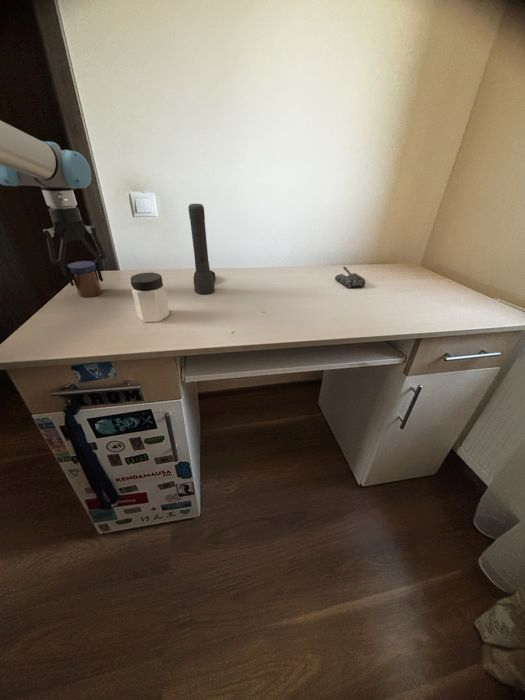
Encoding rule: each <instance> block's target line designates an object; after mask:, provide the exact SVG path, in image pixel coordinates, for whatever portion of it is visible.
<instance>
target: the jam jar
mask: <svg viewBox="0 0 525 700" xmlns="http://www.w3.org/2000/svg"><path fill="white" fill-rule="evenodd" d="M70 275H71V277H72V280H73V283H74V286H75V289H76V292H77V295H78V296H79V297H80V298H93V297H97V296H100V295H101V294H102V293H103V289H102V286H101V283H100V282H101V281H100V279H99V277H98V273H97V270H95V271H92V272H88V273H81V274H75V273H70Z"/></svg>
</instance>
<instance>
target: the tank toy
mask: <svg viewBox="0 0 525 700" xmlns="http://www.w3.org/2000/svg"><path fill="white" fill-rule="evenodd" d="M342 268H343V271H345V272H346V273H347V274H348V275H346V274H343V273H339V274H336V275H335V277H334V280H335V281H337V282H338V283H339V284H340V285H342V286H343V287H345V288H346V289H350V288H352V287H360V288H363V287H366V279H365V278H364V277H362V276H361V275H360V274H357V273H355V272H353V273H352V272H351V271H350V270H349V269H348V268H347V267H346V266H343V267H342Z"/></svg>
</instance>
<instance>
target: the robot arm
mask: <svg viewBox="0 0 525 700" xmlns="http://www.w3.org/2000/svg"><path fill="white" fill-rule="evenodd" d="M91 182H92V170H91V167H90V164H89V163H88V161H87V159H86V158H85V157H84V155H83V154H81V153H80V152H78V151H75V150H70V149H61V147H60V145H59V144H58V143H56V142H54V141H44V140H43V141H42V140H40V139H39V138H36V137H34V136H32V135H30V134H28V133H26V132H25V131H22V130H21V129H18V128H16V127H14V126H12V125H10V124H8V123H6V122H4V121H2V120H0V185H1V186H6V187H7V186H9V187H19V186H28V187H29V186H32V187H40V190H41V192H42V195H43V198H44V201H45V204H46V205H47V207H49V208H48V212H49V215H50V218H51V221H52V227H51V228H44V229H42V231H43V234H44V235H45V237H46V240H47V246H48V247H47V248H48V253H49V257H50V262H51V264H52V265H53V266H56V265H57V266H59V268H60V271H61V274H62V275H63V276H64V277H68V281H69V283H70V285H71V287H74V286H75V283H74V280H73V277H72V274H71V273H70V272H69V269H68V266H67V265H68V264H67V263H65V262H66V255H67V254H66V253H67V247H68V243H69V242H73V241H81V242H82V244H83V245H84V246H85V247H86V248H87V250H88V251H89V252H90V253H91V255H92V256H93V257H94V258H95V259H93V262H95V264H96V267H97V269H96V272H97V275H98V279H99V282H104V278H103V275H102V272H101V271H104V266H103V262H102V261H103V260H104V259H107V254H106V252H105V250H104V248H103V246H102V244H101V242H100V240H99V239H100V238H99V237H98V235H97V228H96V227H95V226H94V225H86V224H84V222H83V220H82V216H81V213H80V209H79V207H77V205H78V203H77V200H76V196H75V193H74V190H77V189H86V188H88V187H89V186H90V185H91ZM86 231H87V232H88V233H89V234H90V235H91V238H92V240H93V241H94V244H95V247H96V248H97V251H98V253H99V255H98V253H97V252H96V251H95V250H94V248H93V247H92V246H91V244H90V243H89V242H88V240H87V239H86V238H85V237H84V235H85V232H86ZM54 233H55V234H57V235H58V236H59V237H61V238H60V246H59V247H60V248H59V255H58V259H57V258H56V257H57V256H56V251H55V245H54V239H53V237H55V234H54Z"/></svg>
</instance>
